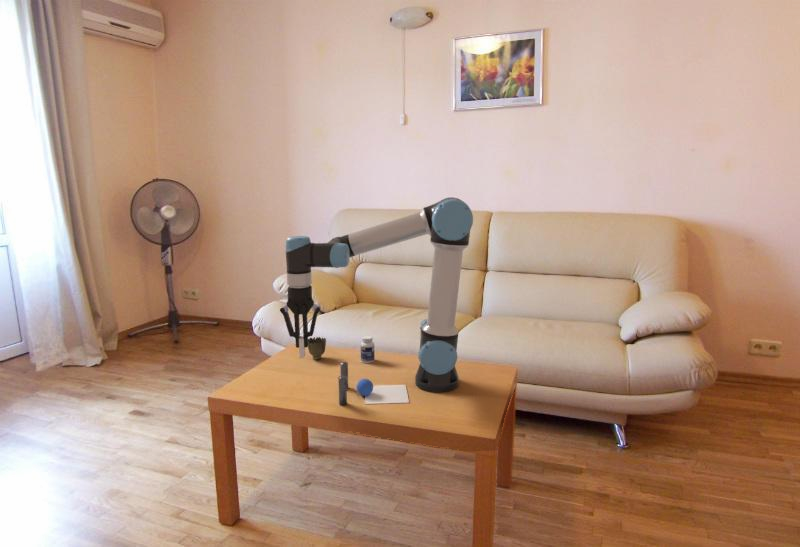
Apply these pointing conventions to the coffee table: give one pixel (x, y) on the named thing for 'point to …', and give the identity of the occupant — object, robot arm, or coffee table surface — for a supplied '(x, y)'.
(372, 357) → the pill bottle
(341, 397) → the post
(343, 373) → the post
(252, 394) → the coffee table surface
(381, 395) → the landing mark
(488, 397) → the coffee table surface
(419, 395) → the coffee table surface
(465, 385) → the coffee table surface
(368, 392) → the ball
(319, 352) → the cup
